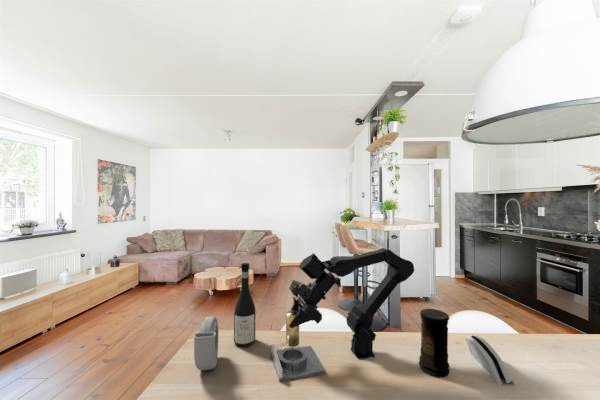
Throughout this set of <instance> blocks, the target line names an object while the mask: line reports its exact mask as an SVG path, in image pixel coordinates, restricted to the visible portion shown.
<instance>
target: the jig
mask: <svg viewBox="0 0 600 400" xmlns="http://www.w3.org/2000/svg"><path fill="white" fill-rule="evenodd" d="M270 350H271V352H270V354H271V355H270V356H271V358H272V363H273V365H274V369H275V371H276V375H277V380H278V382H283V381H289V380H291V381H292V380H296V379H302V378H306V377H308V378H309V377H314V376H320V375H325V374H326V371H325V369H324V367H323V365H322V363H321V362H320V360H319V358H318V357H317V355H316V353H315V351H314V349H313V347H312V346H311V345H307V346H301V347H299V346H295V347H290V346H288V347H286V348H285V347H284V349H278V350H277V349H276V346H275V344H274V343H273V344H272V343H271V344H270Z"/></svg>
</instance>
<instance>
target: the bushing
mask: <svg viewBox="0 0 600 400" xmlns="http://www.w3.org/2000/svg"><path fill="white" fill-rule="evenodd" d="M297 313H298V311H290V310H288V311H286V313H285V344H286V346H287V347H299V345H300V325H298V326H296V327H293V328H290V327H289V325H290V323H291V322H292V320H293V319H294V317H295V316H296V315H297Z"/></svg>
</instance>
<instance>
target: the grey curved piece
mask: <svg viewBox="0 0 600 400" xmlns="http://www.w3.org/2000/svg"><path fill="white" fill-rule="evenodd" d="M465 341H466V344H467V347H468V349H469V350H468V351H469V353H470V355H471V354H472V355H473V356H472V355H471V356H472V357H473V358H474V360H475V361H478V362H479V363H480V364H481V365H480V364H479V363H478V362H477V363H478V364H479V365H480V367H482V368H483V369H484V371H487V372H488V373H489V374H490V375H489V374H488V373H487V372H486V373H487V374H488V375H489V376H490V377H491V379H492V380H493V381H494V382H495V381H496V382H495V383H496V384H497V385H499V384H500V385H503V384H504V383H506V384H509V383H511V384H512V385H513V386H516V382H515V379H514V378H513V377H512V376H511V375H510V374H509V373H508V372H507V370H506V368H505V365H504V363H503V360H502V358H501V357H500V355H499V354H498V353H497V352H496V350H495V349H494V348H493V347H492V345H490V344H489V343H488V341H486V340H485V338H483V337H481V336H480V335H478V334H472V335H468V336H466V337H465Z"/></svg>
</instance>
